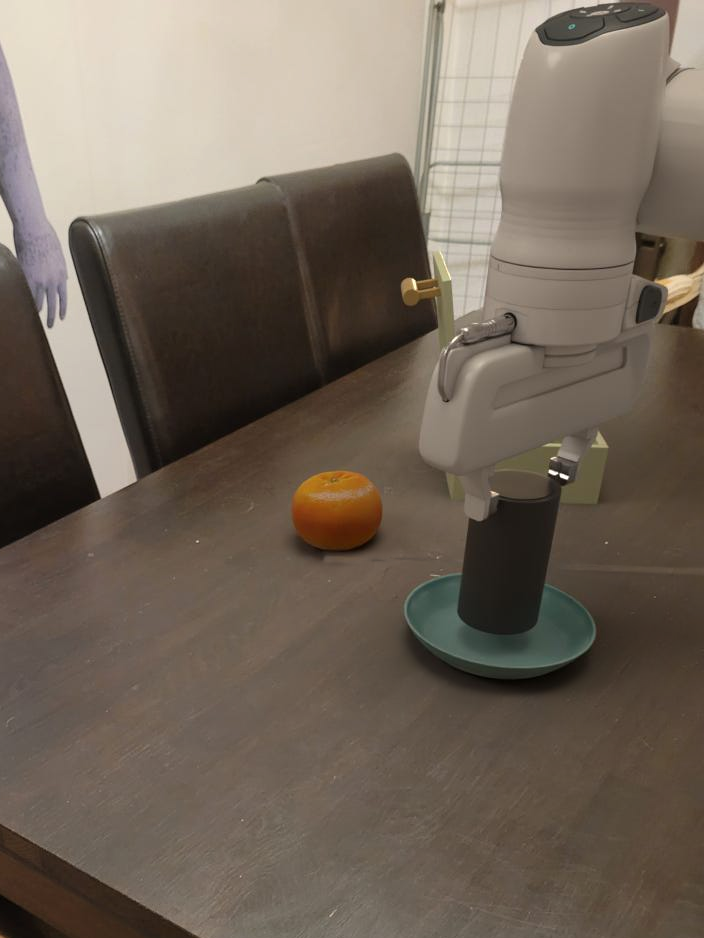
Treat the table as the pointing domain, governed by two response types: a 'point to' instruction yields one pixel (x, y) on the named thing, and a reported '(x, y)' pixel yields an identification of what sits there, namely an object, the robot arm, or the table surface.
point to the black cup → (509, 554)
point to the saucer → (499, 656)
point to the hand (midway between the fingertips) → (522, 498)
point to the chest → (539, 461)
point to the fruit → (337, 510)
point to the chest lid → (440, 292)
